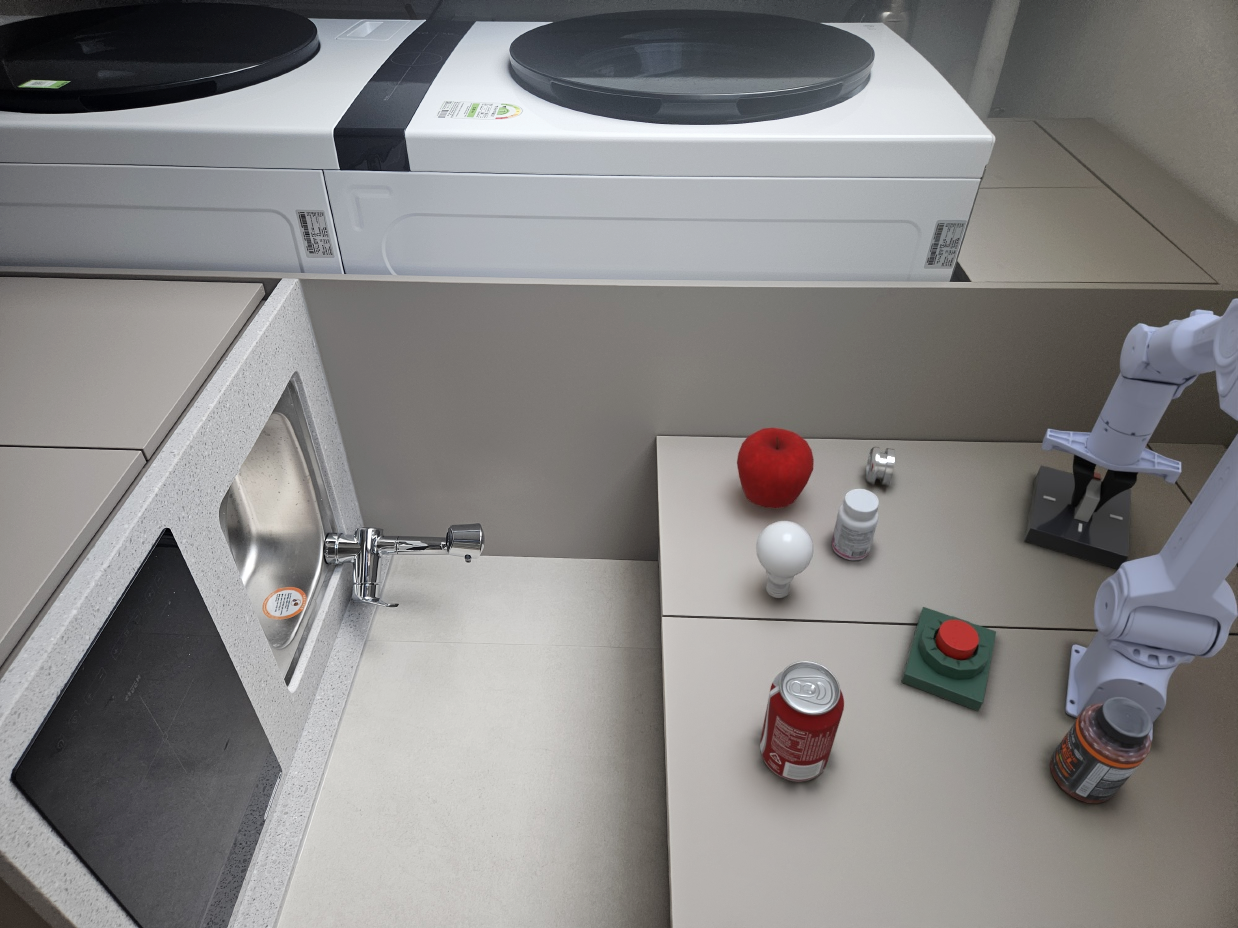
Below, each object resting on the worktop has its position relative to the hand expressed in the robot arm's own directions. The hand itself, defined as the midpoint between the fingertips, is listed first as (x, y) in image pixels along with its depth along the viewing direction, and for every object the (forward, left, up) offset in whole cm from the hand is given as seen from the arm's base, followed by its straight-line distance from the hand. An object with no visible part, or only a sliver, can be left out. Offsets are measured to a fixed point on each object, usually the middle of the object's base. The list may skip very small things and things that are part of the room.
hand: (1084, 504), depth 102 cm
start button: (-29, +11, 0) cm, 31 cm away
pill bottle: (-17, +25, -3) cm, 30 cm away
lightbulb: (-28, +31, -3) cm, 42 cm away
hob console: (0, 0, -3) cm, 3 cm away
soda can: (-47, +23, -3) cm, 52 cm away
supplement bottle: (-37, -3, -3) cm, 37 cm away
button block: (-29, +11, -3) cm, 31 cm away
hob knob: (0, 0, -1) cm, 1 cm away
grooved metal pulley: (-3, +25, -3) cm, 25 cm away
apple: (-13, +37, -3) cm, 39 cm away
